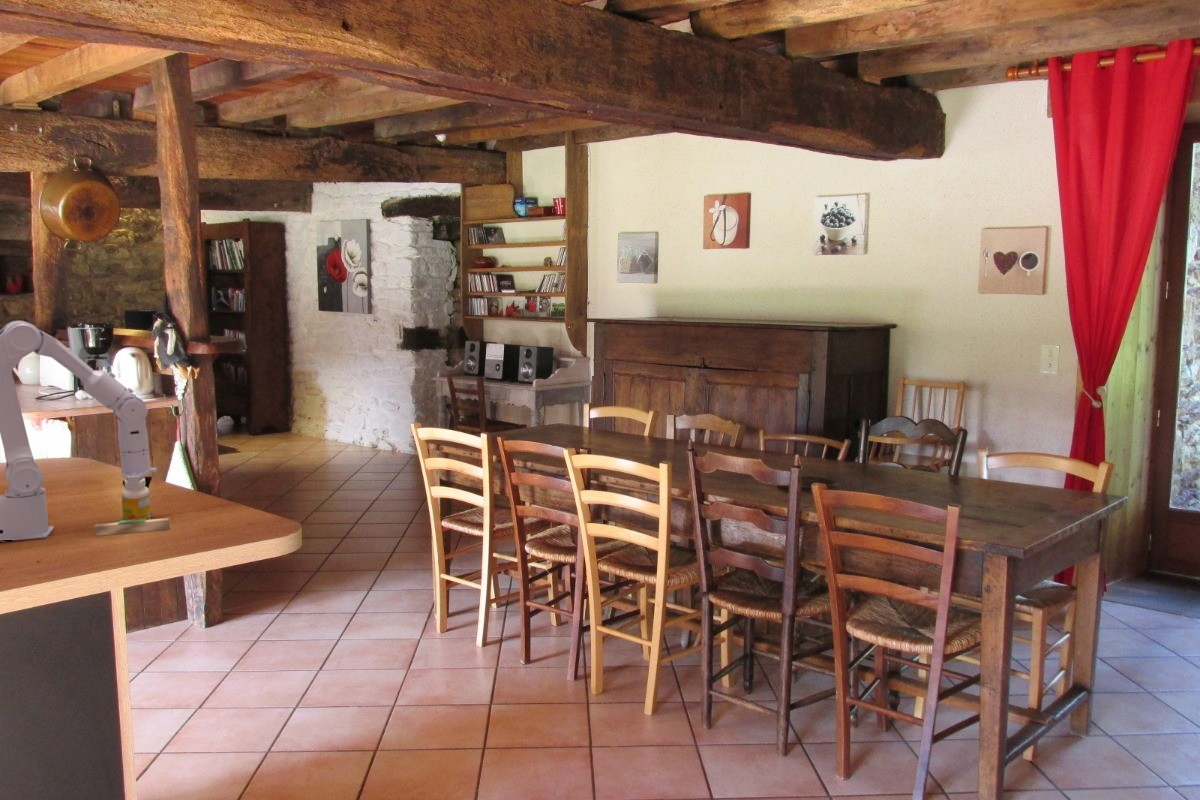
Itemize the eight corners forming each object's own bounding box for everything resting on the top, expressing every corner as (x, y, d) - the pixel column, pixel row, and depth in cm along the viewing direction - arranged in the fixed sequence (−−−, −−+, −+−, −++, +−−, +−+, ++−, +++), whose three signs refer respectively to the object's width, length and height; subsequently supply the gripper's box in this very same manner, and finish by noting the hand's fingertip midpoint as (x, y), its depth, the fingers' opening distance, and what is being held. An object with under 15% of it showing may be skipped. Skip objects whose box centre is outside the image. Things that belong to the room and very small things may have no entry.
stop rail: (94, 536, 200) (94, 525, 200) (96, 533, 202) (95, 522, 202) (168, 529, 205) (168, 518, 205) (169, 527, 207) (169, 516, 207)
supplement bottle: (117, 521, 210) (115, 479, 207) (139, 513, 214) (137, 472, 211) (134, 528, 207) (131, 486, 204) (156, 520, 212) (154, 478, 209)
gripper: (151, 454, 206) (157, 517, 208) (157, 442, 219) (163, 501, 221) (114, 457, 204) (121, 520, 206) (122, 445, 217) (128, 504, 219)
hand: (140, 511), depth 213 cm, fingers closed, pressing on supplement bottle
